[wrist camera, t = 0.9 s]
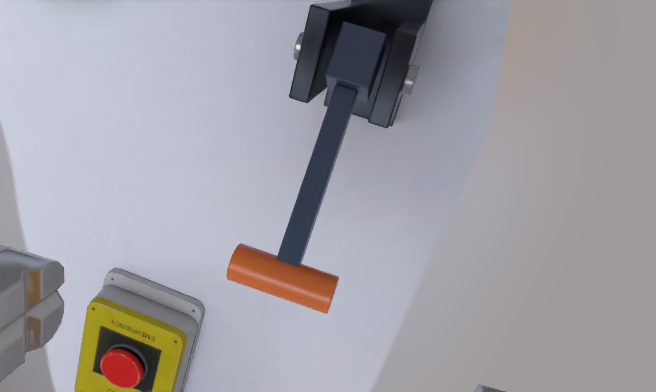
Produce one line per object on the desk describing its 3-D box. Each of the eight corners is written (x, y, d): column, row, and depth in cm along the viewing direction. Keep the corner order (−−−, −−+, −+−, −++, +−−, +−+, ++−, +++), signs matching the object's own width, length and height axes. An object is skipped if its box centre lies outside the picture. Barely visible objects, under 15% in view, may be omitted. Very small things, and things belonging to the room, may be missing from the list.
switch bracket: (400, 125, 38) (380, 185, 27) (320, 100, 39) (266, 148, 27) (448, -22, 34) (450, -28, 23) (358, -48, 35) (315, -67, 23)
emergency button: (184, 332, 43) (152, 459, 49) (206, 303, 47) (174, 423, 53) (79, 290, 44) (60, 420, 50) (110, 264, 48) (88, 388, 54)
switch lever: (328, 311, 26) (325, 316, 24) (233, 278, 27) (221, 280, 25) (411, 60, 28) (416, 41, 25) (318, 32, 28) (314, 11, 26)
